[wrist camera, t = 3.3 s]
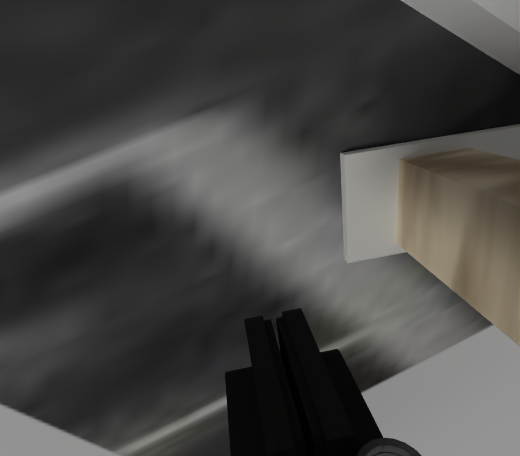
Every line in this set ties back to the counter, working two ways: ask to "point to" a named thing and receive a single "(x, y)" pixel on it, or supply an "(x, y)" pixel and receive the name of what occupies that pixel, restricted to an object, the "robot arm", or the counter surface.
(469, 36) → the bracket
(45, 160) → the counter surface
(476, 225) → the maple block
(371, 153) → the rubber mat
